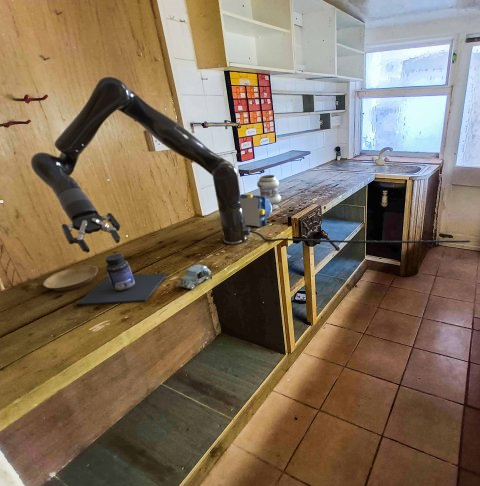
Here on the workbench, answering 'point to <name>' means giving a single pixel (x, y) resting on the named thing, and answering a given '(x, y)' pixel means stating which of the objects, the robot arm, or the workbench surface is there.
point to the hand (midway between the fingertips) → (103, 246)
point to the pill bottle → (119, 272)
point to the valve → (255, 209)
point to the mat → (135, 294)
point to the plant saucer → (71, 278)
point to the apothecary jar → (269, 189)
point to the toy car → (194, 276)
